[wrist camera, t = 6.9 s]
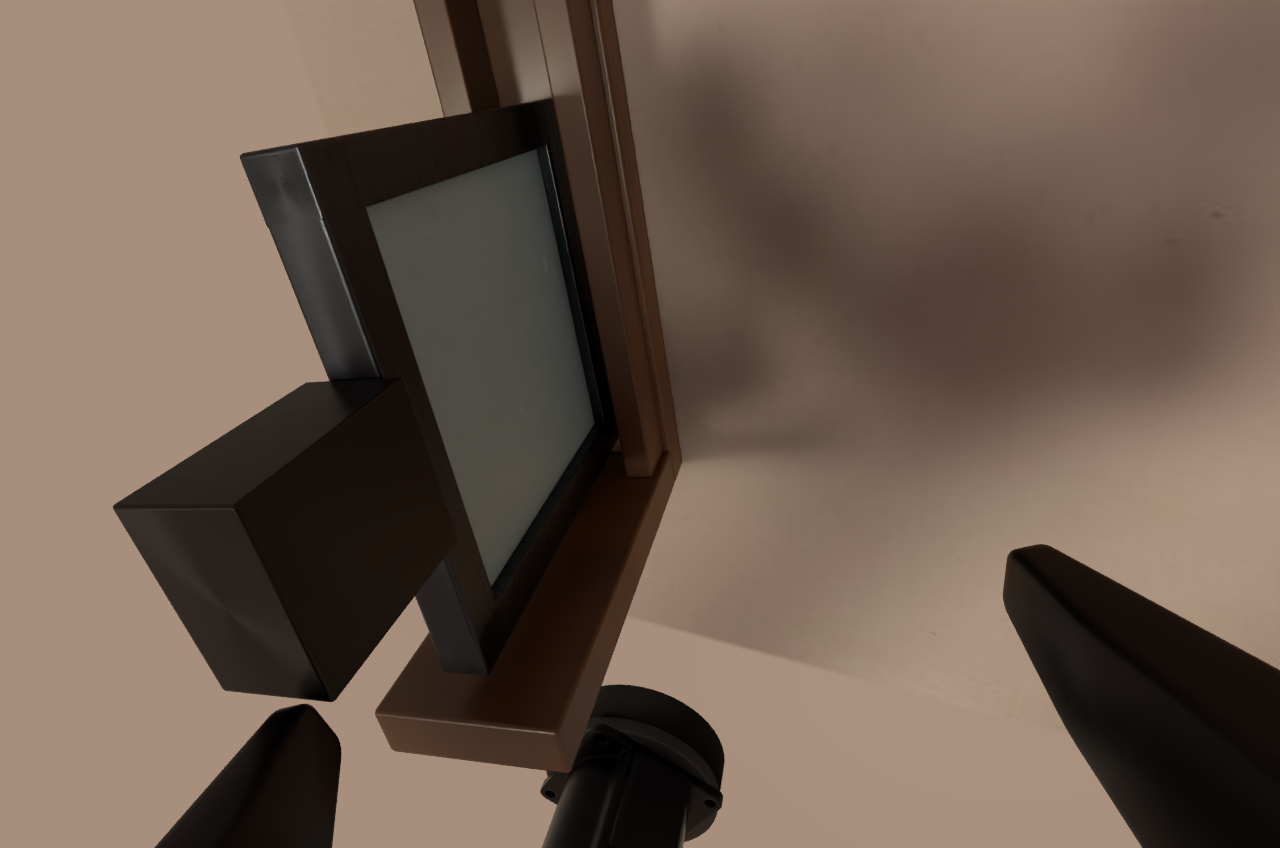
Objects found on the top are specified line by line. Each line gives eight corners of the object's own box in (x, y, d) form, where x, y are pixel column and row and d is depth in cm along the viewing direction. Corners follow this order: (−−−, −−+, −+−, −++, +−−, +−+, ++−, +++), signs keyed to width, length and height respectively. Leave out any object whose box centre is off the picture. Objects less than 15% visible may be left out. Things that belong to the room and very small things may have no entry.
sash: (578, 437, 21) (314, 842, 11) (502, 107, 17) (-73, 209, 6) (632, 435, 21) (414, 861, 10) (568, 95, 17) (68, 185, 6)
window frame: (571, 464, 24) (390, 752, 14) (404, -235, 15) (-315, -710, 6) (682, 463, 23) (570, 775, 13) (567, -293, 14) (10, -1012, 5)
